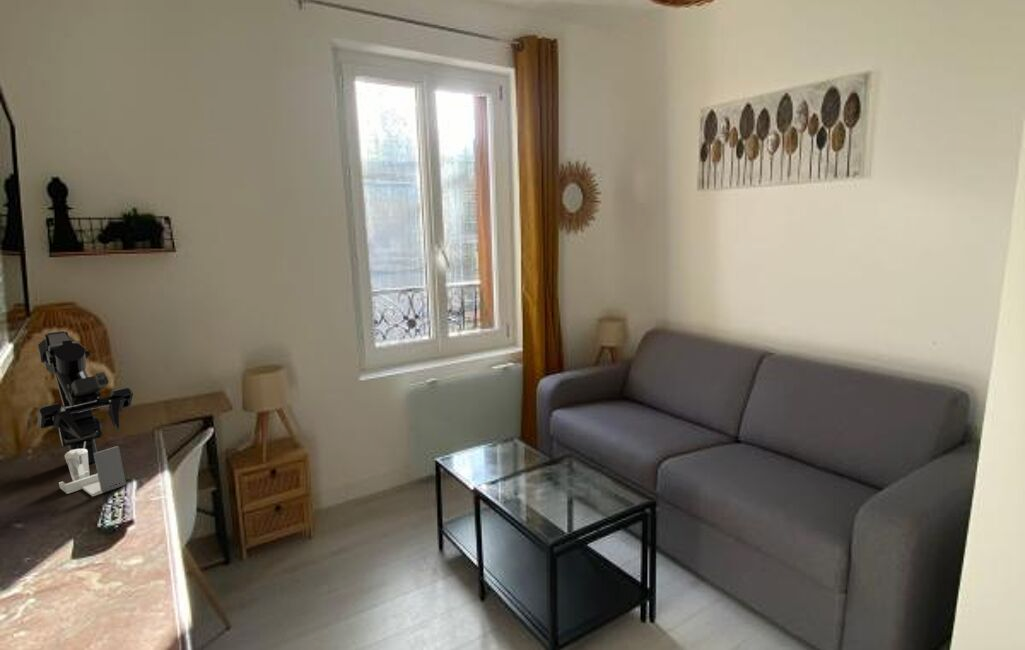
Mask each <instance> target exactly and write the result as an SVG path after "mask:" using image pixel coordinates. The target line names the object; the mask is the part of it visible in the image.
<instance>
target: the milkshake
mask: <svg viewBox="0 0 1025 650" xmlns="http://www.w3.org/2000/svg"><path fill="white" fill-rule="evenodd" d="M85 445H86V442H84V447H83V449H74V450H70V449H69V451H67V452H66V453H65V454H64V460H65V461H66V465H67V467H68V469H69V470H68V471H69V473H70V477H71V479H72V482H73V481H76V480H79V479H82V478H85V477H88V476H91V475H90V465H89V464H90V463H88V451H87V450H86V449H85Z"/></svg>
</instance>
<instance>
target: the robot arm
mask: <svg viewBox="0 0 1025 650" xmlns="http://www.w3.org/2000/svg"><path fill="white" fill-rule="evenodd" d="M37 349H38V356H39V360H40V363H41V364H44V366H45V367H44V368H45V370H46V371H47V372H49V373H51V374H53V375H54V378H55V380H56V384H57V387H58V391H59V396H60V399H61V402H62V405H61V404H60V402H56V403H55V402H54V403H52V404H47V405H42V406H40V407H39V408H38V411H37V423H38V425H39V427H40V429H46V428H51V427H52V428H53V429H57V428H58V433H59V438H60V442H61V446H62V447H63V448H65V447H67V446H68V449H69V451H70V450H74V449H83V447H84V442H86V445H85V449H86V450H87V451H88V463H89V464H92V463H95V459H94V454H93V453H96V452H98V450H97V446H96V441H95V439H101V438H102V437H103V435H104V434H103V429H102V428H103V427H102V426H103V425H102V420H100V419H99V418H98V417H97V416H94V413H93V410H94V409H99V408H103V407H108V408H109V409H108V413H107V414H108V415H109V418H110V420H111V424H112V425H113V427H114V429H115V430H116V431H118V430H120V415H119V413H120V412H122V411H123V409H125V408H128V407H130V406H132V400H133V397H134V393H133V391H132V388H129V387H121V388H117V389H112V390H111V391H110V396H107V397H103V398H99V397H101V395H102V393H101V389H102V387H106V386H107V385H108V384H109V383H110V382H109V379H108V376H107V374H106V373H105V371H104V372H103V371H102V372H99V373H98V372H97V373H95V375H93V376H88V373H87V372H86V368H87V363H86V360H87V359H88V357H89V356H91V354H90V350H89V349H87V348H86V347H85V346H84V345H82V344H81V343H80V342H78V341H75V339H74V338H72V337H70V336H69V333H68V331H63V330H62V331H61V330H60V331H54V332H48V333H45V334H44V339H43V340H42V341H40V342H39V344H37Z"/></svg>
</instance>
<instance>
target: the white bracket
mask: <svg viewBox="0 0 1025 650" xmlns="http://www.w3.org/2000/svg"><path fill="white" fill-rule="evenodd" d="M120 450H121V449H120V447H119V446H118V445H116V446H113V447H110V448H106V449H103V450H98V451H97V452H96V453H93V454H94V459H95V462H94V463H95V468H96V473H95V474H91V475H90V476H88V477H85V478H82V479H79V480H76V481H73V480H72V481H70V482H67V483H66V482H64V481H60V482H58V486H59V489H60V490H61V491H63V492H64V493H65V494H67V495H68V494H69V495H70V494H71V493H74V492H78V491H79V490H80V491H81V490H83V491H84V492H86V493H87V494H88V495H90V496H91V497H96V496H98V495H101V494H103V493H107V492H110V491H113V490H115V489H117V488H120V487H124V486H126V485H127V484H126V483H127V482H126V478H125V472H124V467H123V462H122V457H121V451H120ZM119 483H120V484H119ZM115 484H117V485H115ZM113 485H114V486H113ZM110 486H111V487H110Z"/></svg>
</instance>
